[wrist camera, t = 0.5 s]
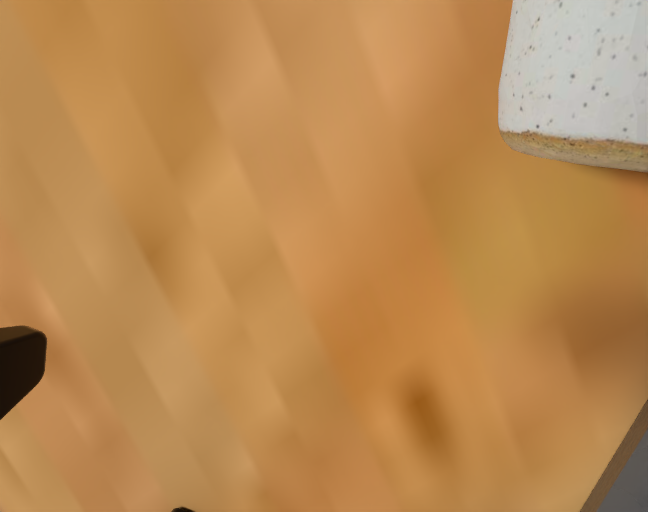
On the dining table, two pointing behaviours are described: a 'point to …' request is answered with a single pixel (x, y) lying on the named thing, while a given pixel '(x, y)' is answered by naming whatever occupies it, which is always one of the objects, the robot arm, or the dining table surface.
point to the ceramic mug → (577, 82)
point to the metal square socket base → (625, 474)
